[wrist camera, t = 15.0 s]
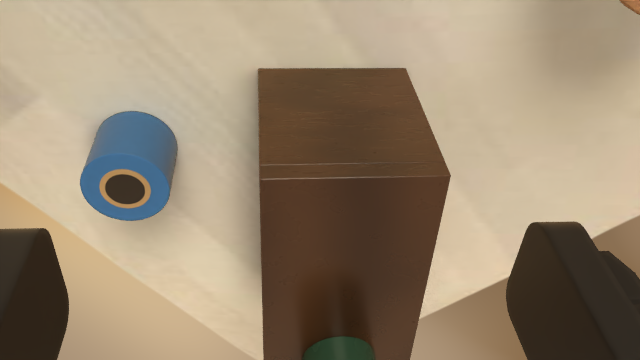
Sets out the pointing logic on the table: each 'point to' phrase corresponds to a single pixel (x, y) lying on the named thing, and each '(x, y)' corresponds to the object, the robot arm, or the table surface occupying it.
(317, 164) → the shelf
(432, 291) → the table surface
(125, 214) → the tape roll
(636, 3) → the trinket box
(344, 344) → the tea tin
